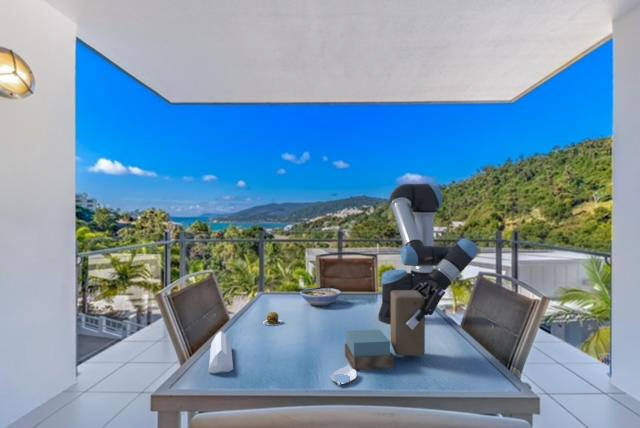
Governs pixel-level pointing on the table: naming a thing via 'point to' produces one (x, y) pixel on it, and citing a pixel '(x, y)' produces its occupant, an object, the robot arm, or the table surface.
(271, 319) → the hamburger
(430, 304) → the robot arm
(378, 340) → the grey teal block
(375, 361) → the tower base
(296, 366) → the table surface
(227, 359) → the crystal
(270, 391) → the table surface
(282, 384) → the table surface
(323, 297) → the ramen bowl
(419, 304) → the wooden block
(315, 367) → the table surface
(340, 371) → the pale veined leaf
